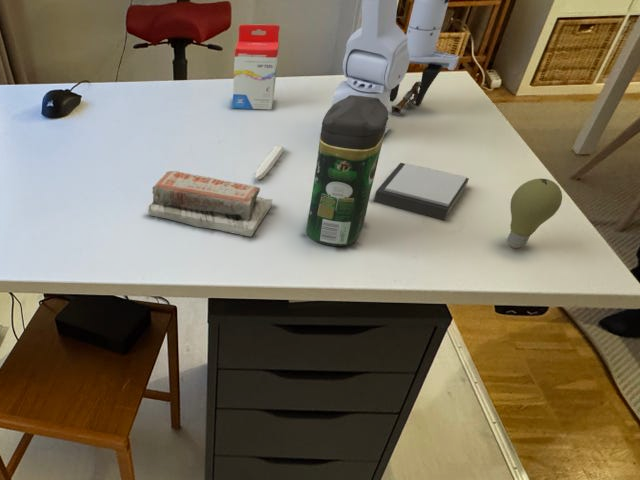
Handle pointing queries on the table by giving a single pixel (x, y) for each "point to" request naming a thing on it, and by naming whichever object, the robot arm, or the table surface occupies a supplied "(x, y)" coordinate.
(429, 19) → the robot arm
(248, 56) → the ink box
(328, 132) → the coffee jar
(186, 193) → the packaged product
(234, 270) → the table surface
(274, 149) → the pen
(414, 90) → the wooden post with brackets
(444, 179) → the scale
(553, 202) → the light bulb
